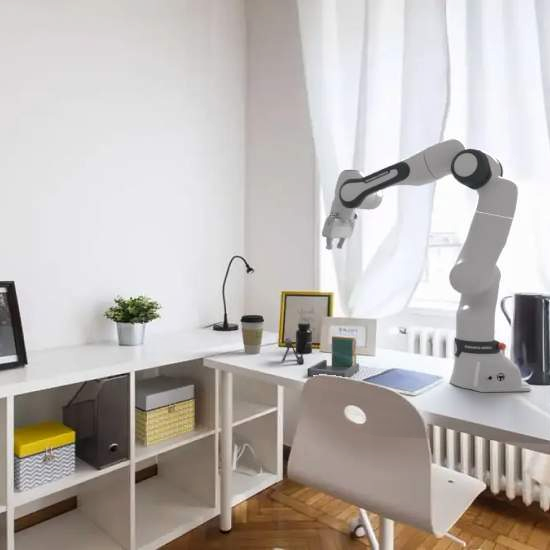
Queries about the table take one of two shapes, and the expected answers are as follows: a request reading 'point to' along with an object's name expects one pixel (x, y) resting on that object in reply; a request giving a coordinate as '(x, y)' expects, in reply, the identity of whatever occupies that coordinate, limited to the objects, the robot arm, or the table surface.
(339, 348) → the green tan block
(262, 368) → the table surface
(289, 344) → the portable electronic device stand
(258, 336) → the coffee cup
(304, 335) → the supplement bottle
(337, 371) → the tray
